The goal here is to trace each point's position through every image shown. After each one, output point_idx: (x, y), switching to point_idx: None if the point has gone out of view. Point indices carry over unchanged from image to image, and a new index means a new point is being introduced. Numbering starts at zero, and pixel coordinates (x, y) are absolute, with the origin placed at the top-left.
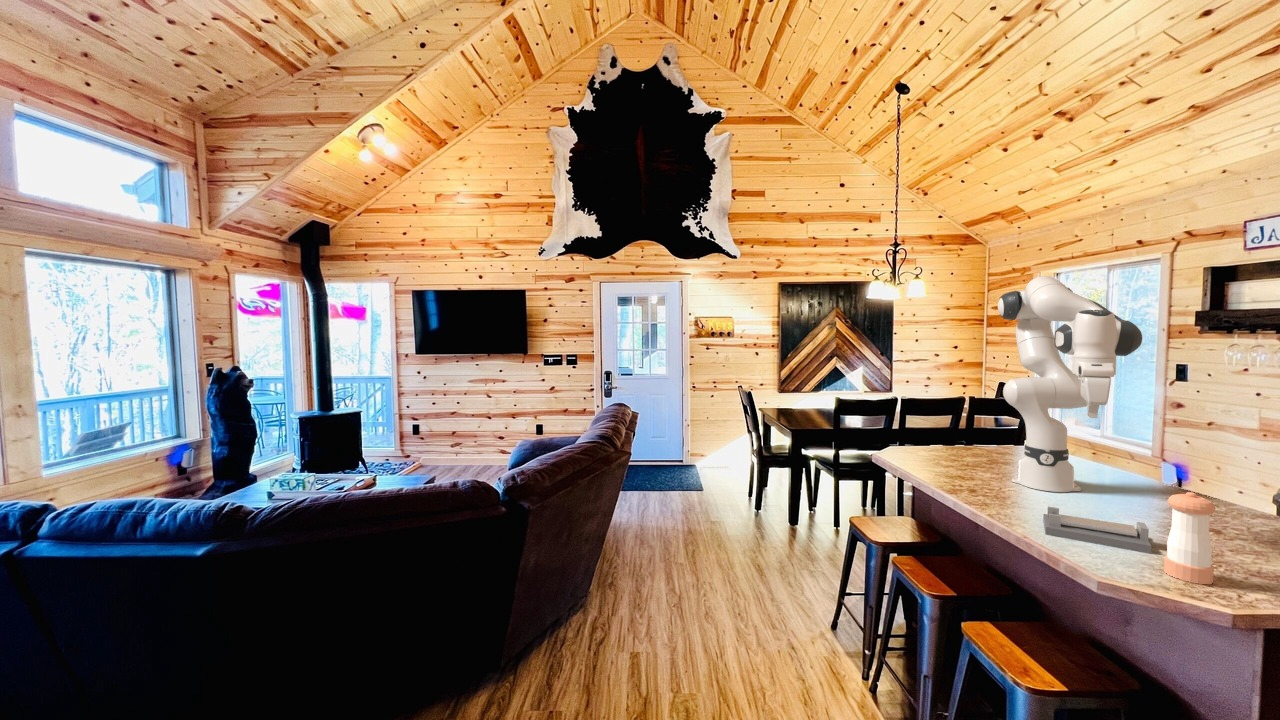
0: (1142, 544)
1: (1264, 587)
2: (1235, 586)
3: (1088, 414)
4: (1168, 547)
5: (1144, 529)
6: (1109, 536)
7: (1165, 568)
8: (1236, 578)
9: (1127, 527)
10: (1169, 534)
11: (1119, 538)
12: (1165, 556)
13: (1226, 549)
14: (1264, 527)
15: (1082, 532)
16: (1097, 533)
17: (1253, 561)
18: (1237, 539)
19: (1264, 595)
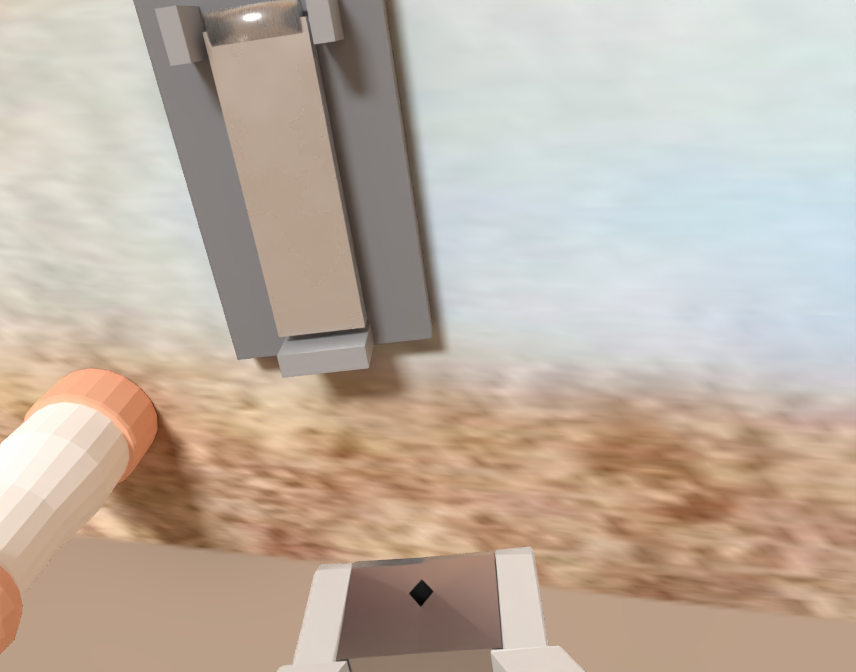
0: (232, 336)
1: (191, 541)
2: (134, 495)
3: (361, 591)
4: (26, 425)
5: (280, 364)
6: (230, 243)
7: (69, 378)
8: (208, 503)
9: (317, 309)
10: (14, 455)
11: (237, 273)
12: (62, 397)
13: (488, 512)
14: (841, 612)
15: (196, 151)
16: (235, 203)
17: (413, 549)
18: (633, 545)
19: (124, 534)
